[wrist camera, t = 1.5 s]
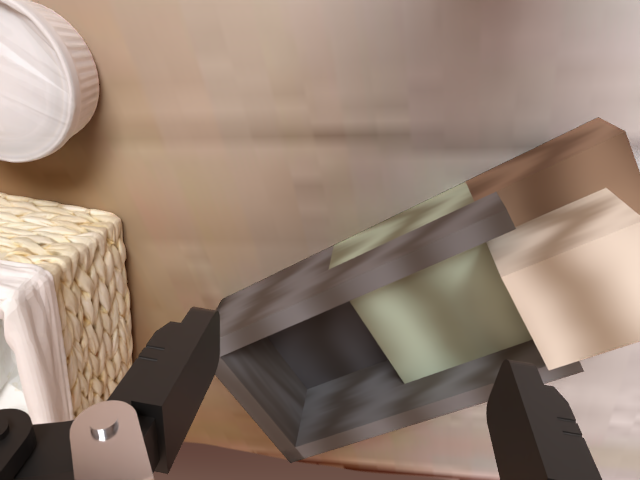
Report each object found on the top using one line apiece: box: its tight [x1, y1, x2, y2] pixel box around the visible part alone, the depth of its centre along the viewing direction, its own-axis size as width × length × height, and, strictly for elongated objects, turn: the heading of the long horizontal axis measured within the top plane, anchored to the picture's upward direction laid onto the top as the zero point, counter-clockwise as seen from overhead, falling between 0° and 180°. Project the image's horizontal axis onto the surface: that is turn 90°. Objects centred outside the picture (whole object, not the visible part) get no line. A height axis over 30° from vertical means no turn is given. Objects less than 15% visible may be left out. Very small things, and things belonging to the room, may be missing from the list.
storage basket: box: [0, 192, 133, 425], centre depth 38 cm, size 24×16×15 cm
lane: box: [215, 117, 640, 463], centre depth 36 cm, size 33×14×7 cm, turn 121°
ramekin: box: [0, 0, 99, 163], centre depth 33 cm, size 11×11×5 cm
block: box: [486, 188, 640, 370], centre depth 30 cm, size 8×8×5 cm
